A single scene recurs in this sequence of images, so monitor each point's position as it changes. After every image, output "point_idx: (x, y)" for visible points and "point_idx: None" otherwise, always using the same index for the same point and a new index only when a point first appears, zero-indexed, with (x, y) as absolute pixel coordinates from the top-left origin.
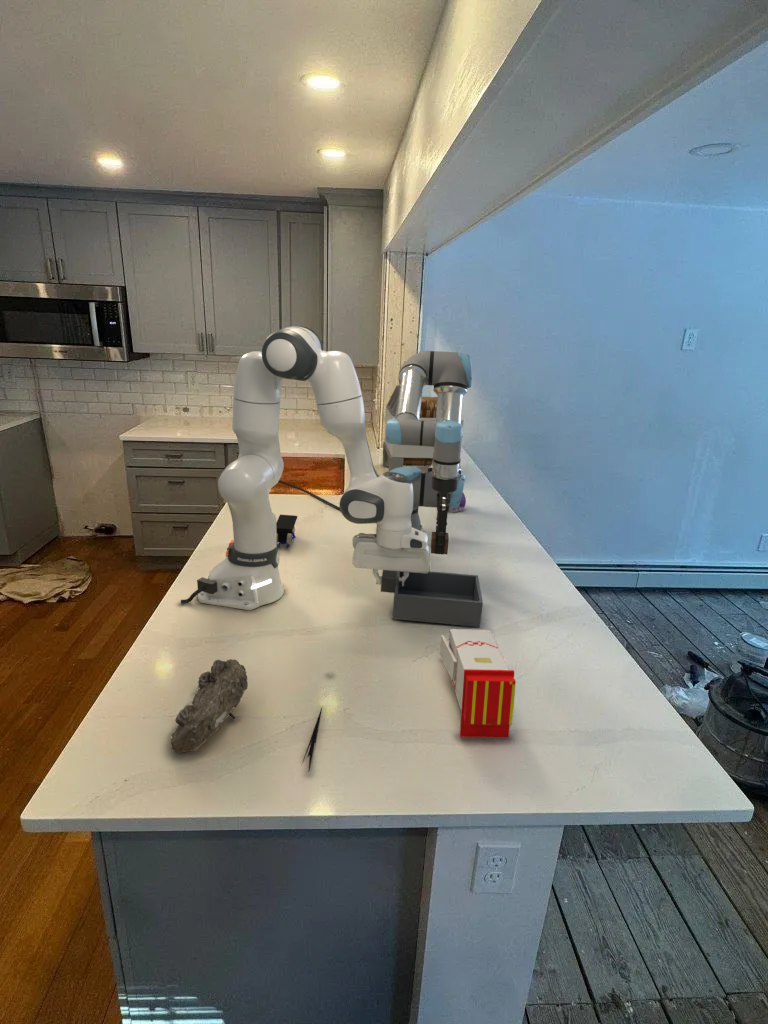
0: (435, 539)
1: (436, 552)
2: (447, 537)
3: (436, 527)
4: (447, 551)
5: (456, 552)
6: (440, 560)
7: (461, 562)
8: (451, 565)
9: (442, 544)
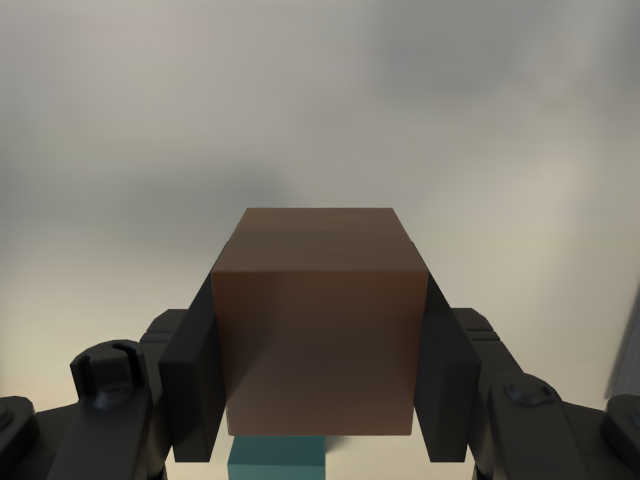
0: (411, 396)
1: None
2: (370, 285)
3: (213, 446)
4: (397, 219)
5: (6, 82)
6: (175, 195)
7: (164, 53)
8: (231, 127)
9: (482, 317)
